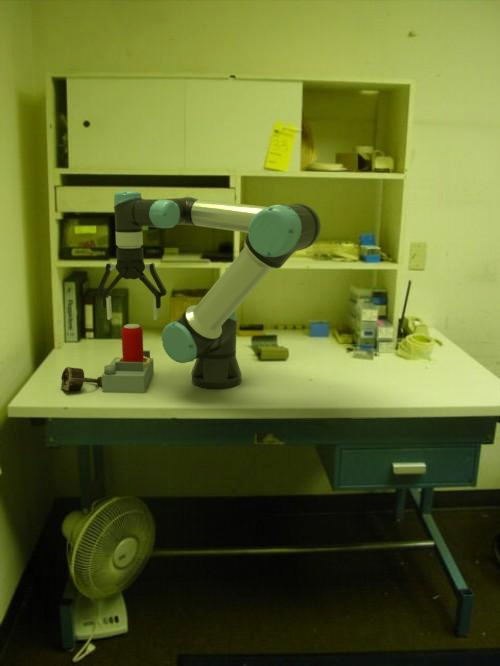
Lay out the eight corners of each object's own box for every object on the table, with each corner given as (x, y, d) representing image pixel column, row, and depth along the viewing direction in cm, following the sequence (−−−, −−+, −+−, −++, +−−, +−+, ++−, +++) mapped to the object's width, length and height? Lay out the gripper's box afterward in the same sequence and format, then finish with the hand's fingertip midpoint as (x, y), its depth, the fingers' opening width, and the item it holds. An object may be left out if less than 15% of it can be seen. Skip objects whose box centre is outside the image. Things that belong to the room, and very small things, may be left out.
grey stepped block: (153, 373, 192) (153, 350, 190) (144, 392, 176) (143, 367, 174) (115, 372, 192) (114, 349, 190) (102, 391, 176) (101, 367, 174)
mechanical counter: (59, 366, 181) (55, 369, 171) (103, 360, 183) (102, 363, 174) (63, 390, 182) (58, 395, 172) (107, 384, 184) (105, 388, 174)
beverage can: (139, 360, 189) (137, 322, 186) (146, 365, 184) (145, 326, 181) (119, 363, 186) (118, 324, 183) (127, 368, 181) (125, 329, 178)
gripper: (175, 245, 179) (176, 316, 184) (89, 244, 179) (93, 315, 185) (171, 248, 172) (173, 322, 177) (82, 247, 172) (87, 321, 177)
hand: (132, 318), depth 181 cm, fingers open, 13 cm apart
